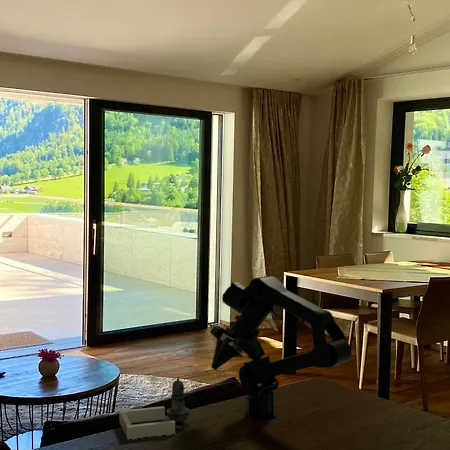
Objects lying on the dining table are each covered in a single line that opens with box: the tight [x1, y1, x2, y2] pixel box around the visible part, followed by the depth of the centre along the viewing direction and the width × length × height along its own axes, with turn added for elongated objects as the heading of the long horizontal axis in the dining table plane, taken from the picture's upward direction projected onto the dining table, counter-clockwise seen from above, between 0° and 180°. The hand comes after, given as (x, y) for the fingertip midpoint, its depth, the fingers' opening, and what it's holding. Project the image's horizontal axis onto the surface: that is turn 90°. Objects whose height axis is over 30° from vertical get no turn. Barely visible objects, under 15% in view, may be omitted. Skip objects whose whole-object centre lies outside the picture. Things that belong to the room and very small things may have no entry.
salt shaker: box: [165, 377, 191, 429], centre depth 164 cm, size 6×6×12 cm
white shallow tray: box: [119, 406, 176, 441], centre depth 162 cm, size 11×12×3 cm
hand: (213, 368), depth 167 cm, fingers closed
